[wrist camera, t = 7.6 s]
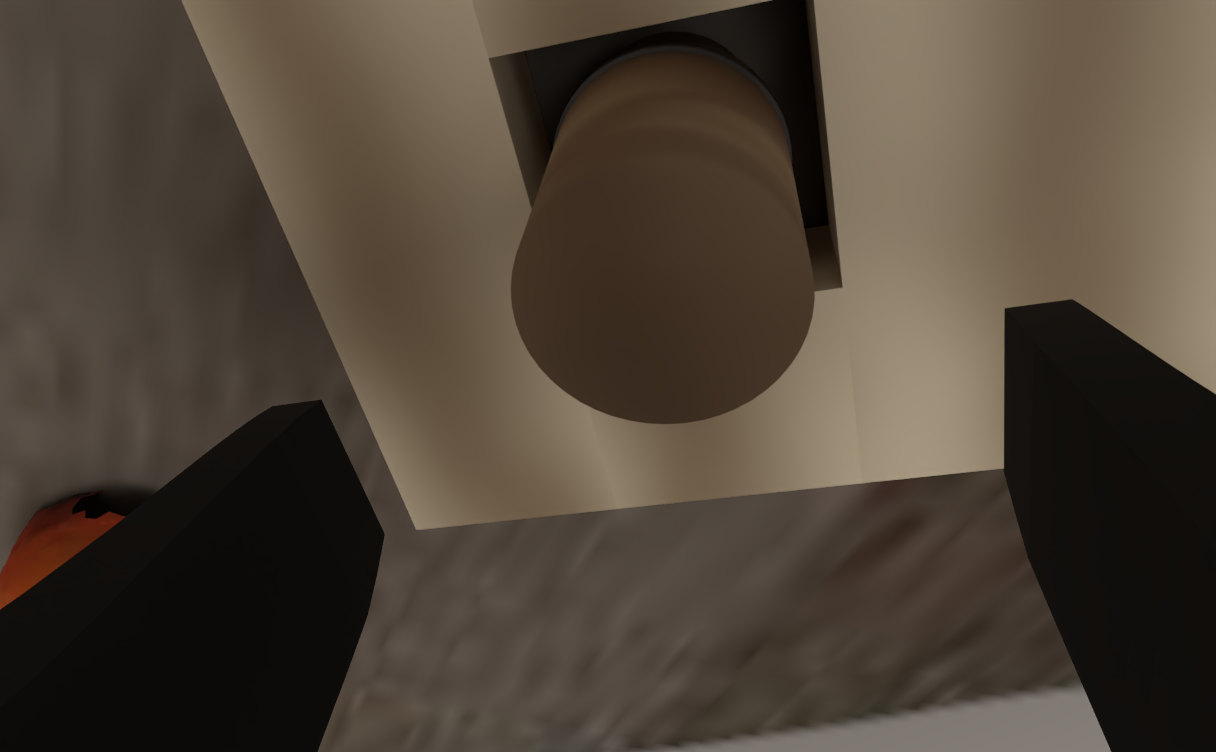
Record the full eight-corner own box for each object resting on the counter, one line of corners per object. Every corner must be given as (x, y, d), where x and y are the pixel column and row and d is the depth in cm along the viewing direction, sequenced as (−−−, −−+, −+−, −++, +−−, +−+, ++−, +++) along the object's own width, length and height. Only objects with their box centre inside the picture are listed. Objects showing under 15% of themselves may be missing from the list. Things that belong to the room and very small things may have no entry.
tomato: (391, 701, 26) (131, 897, 23) (300, 619, 32) (79, 767, 28) (260, 454, 23) (-63, 635, 20) (185, 410, 29) (-79, 546, 25)
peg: (769, -15, 17) (803, 128, 11) (791, 195, 19) (830, 409, 13) (548, 27, 17) (470, 183, 11) (593, 225, 19) (546, 441, 14)
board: (1546, -1089, 10) (1760, -1295, 8) (1276, 357, 20) (1341, 432, 18) (43, -538, 13) (-77, -583, 11) (442, 457, 23) (416, 530, 21)
